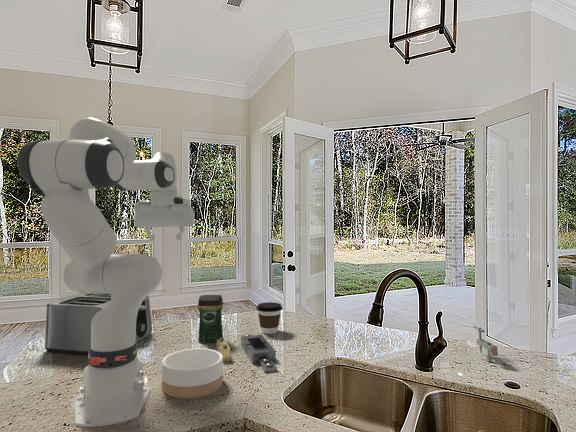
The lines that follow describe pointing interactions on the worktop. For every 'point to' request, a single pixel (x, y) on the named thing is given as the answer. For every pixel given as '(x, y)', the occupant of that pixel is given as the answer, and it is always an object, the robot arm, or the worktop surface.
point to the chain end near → (263, 357)
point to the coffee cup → (269, 316)
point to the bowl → (192, 373)
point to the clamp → (486, 346)
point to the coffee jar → (210, 318)
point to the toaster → (83, 322)
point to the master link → (223, 349)
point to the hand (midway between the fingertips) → (165, 240)
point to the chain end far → (253, 342)
